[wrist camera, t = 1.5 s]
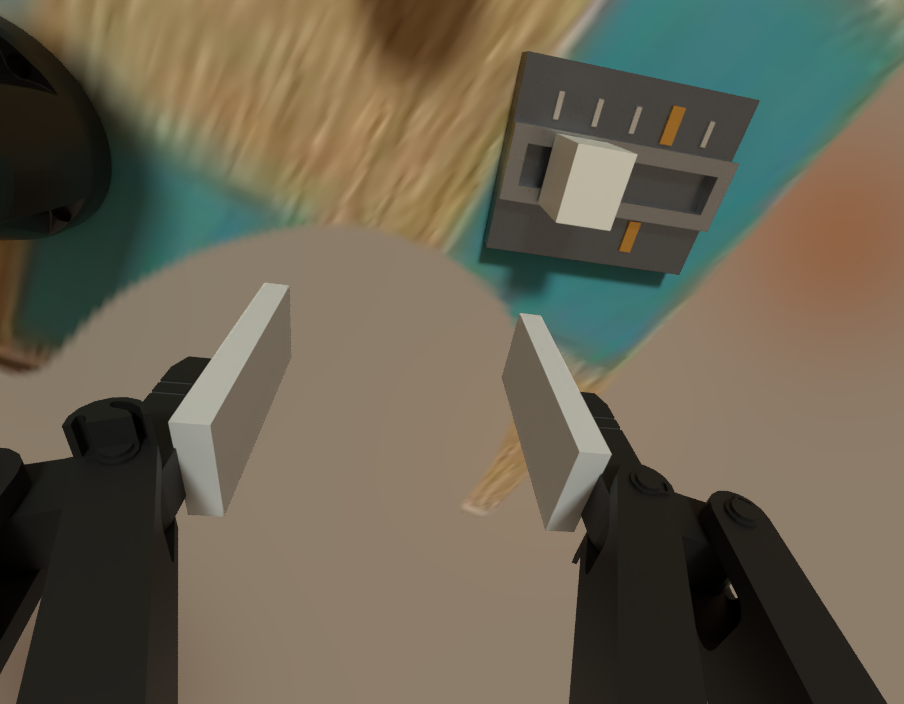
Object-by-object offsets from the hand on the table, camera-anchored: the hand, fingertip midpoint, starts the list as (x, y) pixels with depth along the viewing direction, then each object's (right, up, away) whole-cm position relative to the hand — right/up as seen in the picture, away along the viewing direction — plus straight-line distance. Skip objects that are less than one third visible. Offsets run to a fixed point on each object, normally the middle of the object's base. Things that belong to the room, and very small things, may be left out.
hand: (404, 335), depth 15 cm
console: (+14, +14, +22) cm, 30 cm away
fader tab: (+11, +14, +20) cm, 26 cm away
